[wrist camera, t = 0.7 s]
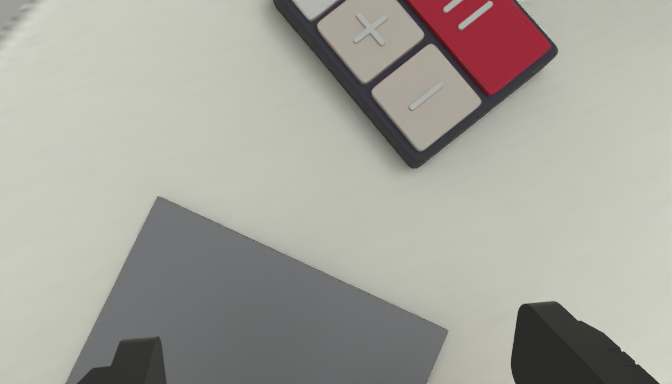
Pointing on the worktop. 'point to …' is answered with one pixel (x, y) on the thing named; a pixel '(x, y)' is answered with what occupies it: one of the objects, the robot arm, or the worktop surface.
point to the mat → (251, 314)
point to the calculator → (423, 61)
